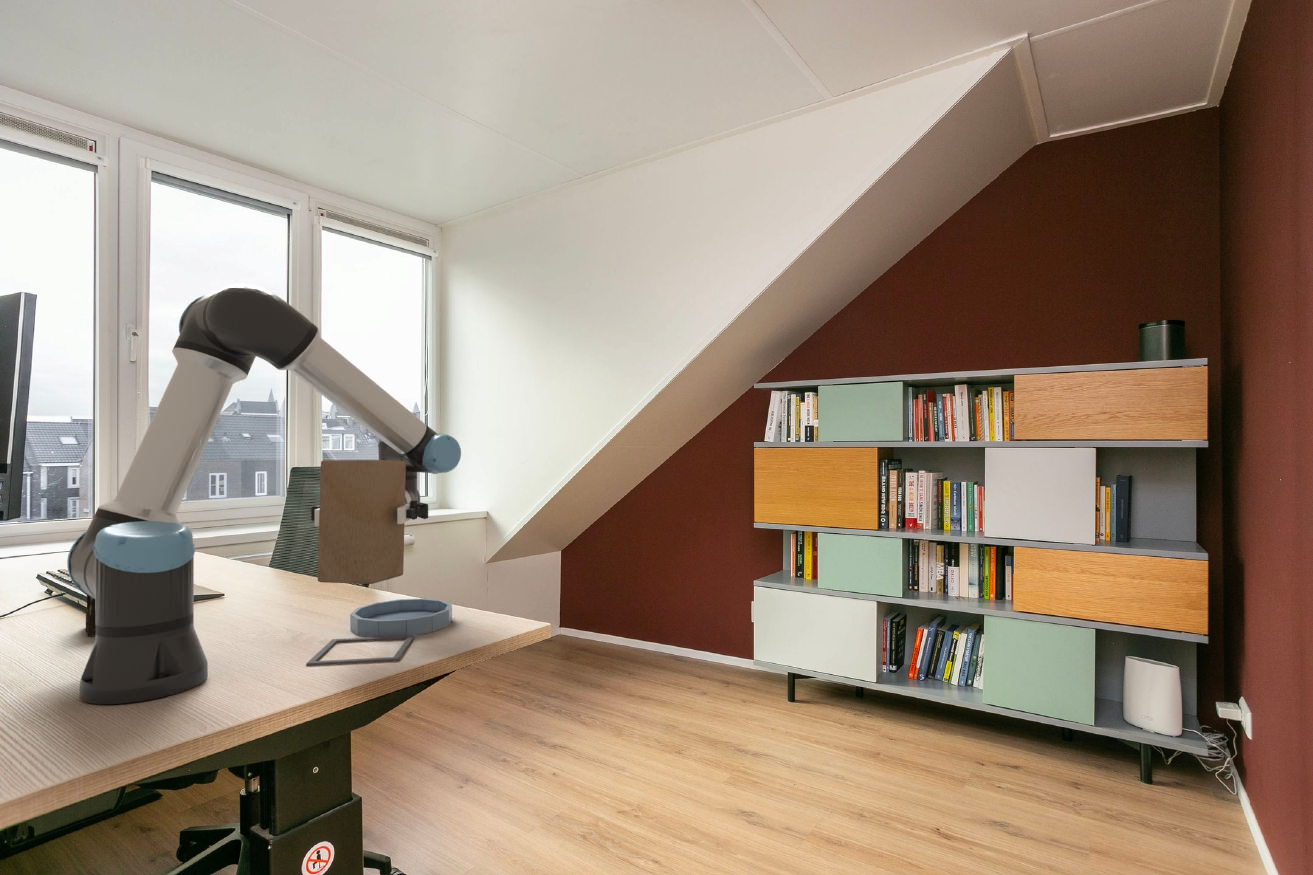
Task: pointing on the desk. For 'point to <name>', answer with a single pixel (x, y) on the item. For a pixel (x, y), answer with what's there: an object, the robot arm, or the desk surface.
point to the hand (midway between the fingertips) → (358, 516)
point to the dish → (401, 617)
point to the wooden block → (360, 521)
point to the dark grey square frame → (397, 657)
